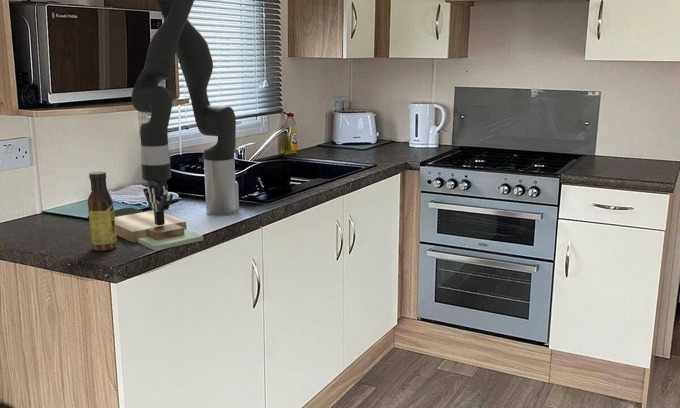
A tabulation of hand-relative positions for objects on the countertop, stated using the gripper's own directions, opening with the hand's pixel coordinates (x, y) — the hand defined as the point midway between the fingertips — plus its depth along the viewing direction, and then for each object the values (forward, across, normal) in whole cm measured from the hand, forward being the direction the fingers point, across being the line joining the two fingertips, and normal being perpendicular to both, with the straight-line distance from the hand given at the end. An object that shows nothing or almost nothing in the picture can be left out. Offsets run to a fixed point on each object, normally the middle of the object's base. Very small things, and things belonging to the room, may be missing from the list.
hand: (159, 224), depth 186 cm
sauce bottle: (+4, 0, +16) cm, 16 cm away
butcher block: (+4, +9, 0) cm, 10 cm away
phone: (+4, +31, -1) cm, 31 cm away
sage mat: (+4, -5, 0) cm, 6 cm away
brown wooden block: (+2, -3, 0) cm, 4 cm away
